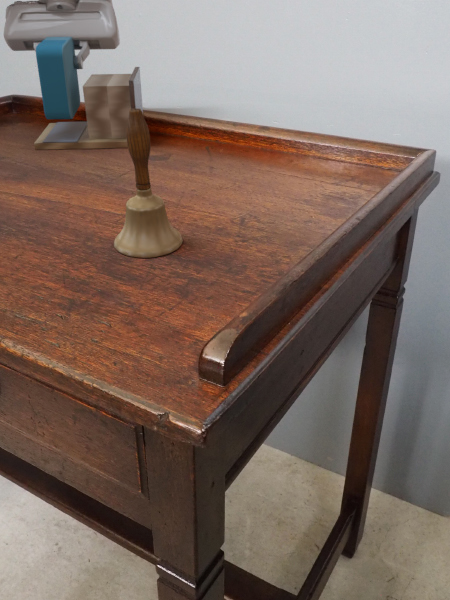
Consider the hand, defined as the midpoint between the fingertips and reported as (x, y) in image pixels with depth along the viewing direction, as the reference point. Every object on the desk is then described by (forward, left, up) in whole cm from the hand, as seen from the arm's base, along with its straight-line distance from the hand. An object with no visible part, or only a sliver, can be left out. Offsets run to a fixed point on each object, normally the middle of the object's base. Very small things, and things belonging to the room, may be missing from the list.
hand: (61, 67), depth 109 cm
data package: (0, -3, -7) cm, 8 cm away
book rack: (+4, -3, -12) cm, 13 cm away
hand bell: (+18, -48, -12) cm, 53 cm away
